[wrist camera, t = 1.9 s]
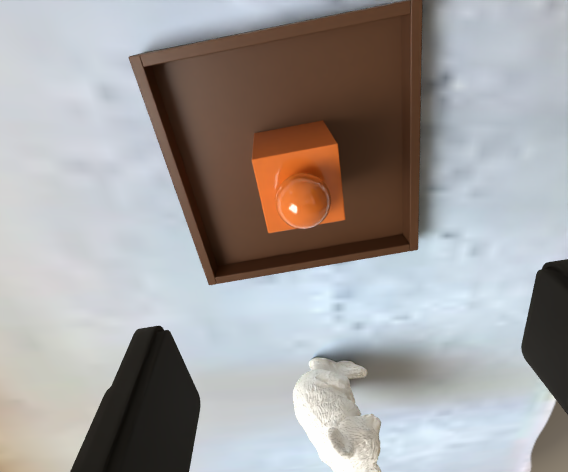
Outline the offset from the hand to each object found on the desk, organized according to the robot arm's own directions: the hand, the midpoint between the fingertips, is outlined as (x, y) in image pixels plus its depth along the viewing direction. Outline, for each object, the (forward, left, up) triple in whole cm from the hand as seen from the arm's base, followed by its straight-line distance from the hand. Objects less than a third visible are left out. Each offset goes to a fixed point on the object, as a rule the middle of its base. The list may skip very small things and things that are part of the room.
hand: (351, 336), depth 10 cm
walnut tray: (0, -1, -16) cm, 16 cm away
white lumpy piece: (0, -22, -17) cm, 27 cm away
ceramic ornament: (0, -1, -16) cm, 16 cm away
